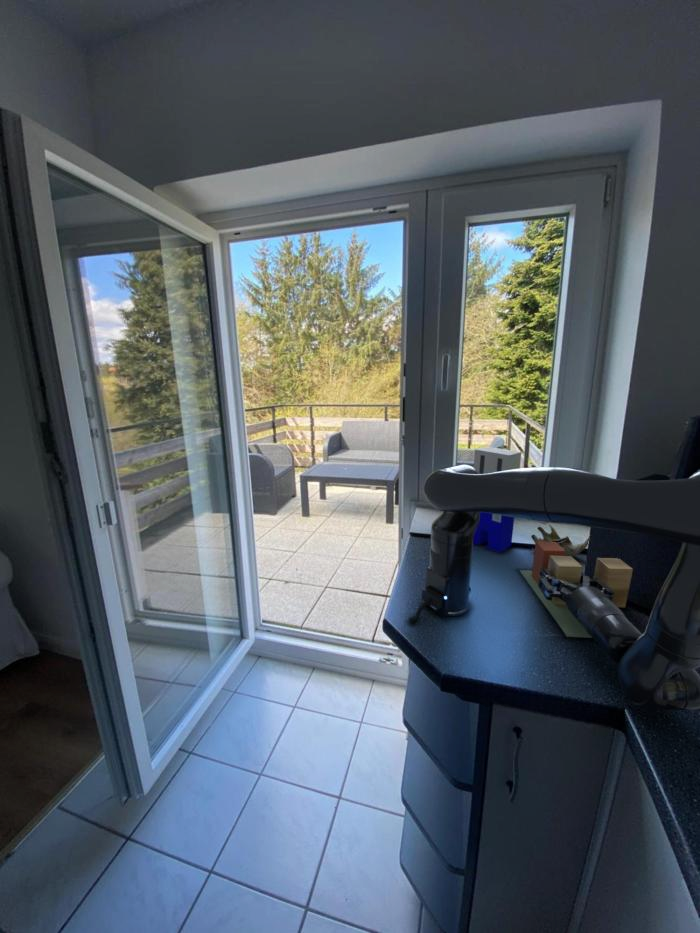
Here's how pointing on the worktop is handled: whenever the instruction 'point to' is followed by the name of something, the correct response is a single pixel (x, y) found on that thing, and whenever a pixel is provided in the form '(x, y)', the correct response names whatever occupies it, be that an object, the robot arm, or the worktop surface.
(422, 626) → the worktop surface
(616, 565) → the maple block
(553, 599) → the maple block
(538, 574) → the terracotta block
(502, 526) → the toy
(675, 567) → the robot arm
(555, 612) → the mat
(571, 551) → the jawbone
